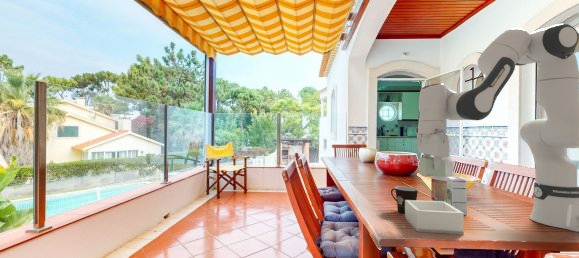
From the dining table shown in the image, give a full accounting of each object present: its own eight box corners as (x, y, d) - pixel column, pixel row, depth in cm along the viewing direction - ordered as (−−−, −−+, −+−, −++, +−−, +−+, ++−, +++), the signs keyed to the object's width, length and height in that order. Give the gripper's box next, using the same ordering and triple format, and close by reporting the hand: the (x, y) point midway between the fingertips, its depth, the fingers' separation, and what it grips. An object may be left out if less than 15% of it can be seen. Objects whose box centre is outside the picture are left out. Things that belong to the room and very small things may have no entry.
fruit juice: (442, 208, 117) (442, 144, 117) (426, 203, 126) (426, 143, 126) (460, 207, 119) (460, 144, 119) (443, 202, 128) (443, 143, 128)
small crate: (437, 173, 99) (437, 157, 99) (445, 176, 92) (445, 159, 92) (419, 173, 99) (419, 157, 100) (425, 176, 93) (425, 158, 93)
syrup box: (467, 215, 108) (467, 179, 108) (451, 214, 109) (451, 178, 109) (461, 211, 113) (461, 176, 113) (446, 210, 115) (446, 176, 115)
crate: (444, 220, 102) (444, 201, 102) (463, 234, 88) (463, 213, 88) (404, 218, 104) (405, 199, 104) (417, 231, 90) (417, 210, 90)
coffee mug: (421, 216, 106) (421, 190, 107) (400, 215, 106) (400, 190, 107) (408, 207, 118) (408, 184, 118) (389, 207, 118) (389, 184, 118)
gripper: (455, 128, 85) (454, 172, 85) (431, 129, 105) (430, 164, 105) (434, 128, 86) (433, 171, 86) (414, 129, 106) (413, 164, 106)
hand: (431, 167), depth 96 cm, fingers closed on small crate, 6 cm apart
